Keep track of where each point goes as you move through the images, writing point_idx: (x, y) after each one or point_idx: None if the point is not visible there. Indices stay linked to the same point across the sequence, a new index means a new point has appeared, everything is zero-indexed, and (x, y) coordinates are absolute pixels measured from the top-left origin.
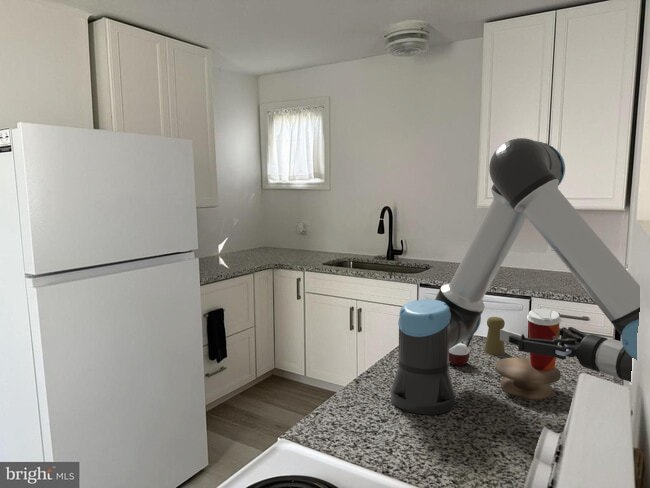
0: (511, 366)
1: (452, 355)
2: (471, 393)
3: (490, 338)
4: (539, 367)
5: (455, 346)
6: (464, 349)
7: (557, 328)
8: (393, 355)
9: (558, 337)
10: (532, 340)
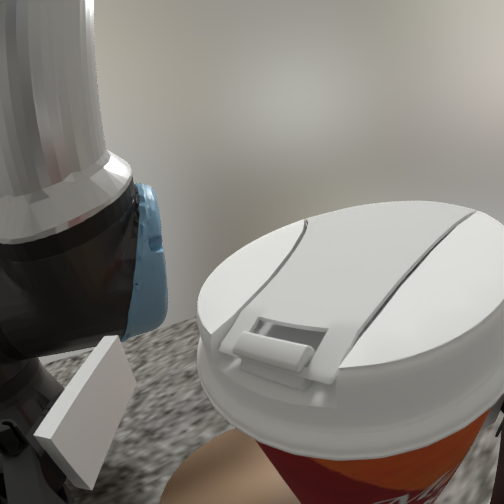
0: (246, 472)
1: None
2: (124, 481)
3: None
4: None
5: None
6: None
7: (447, 451)
8: (181, 323)
9: (486, 424)
10: (8, 496)
